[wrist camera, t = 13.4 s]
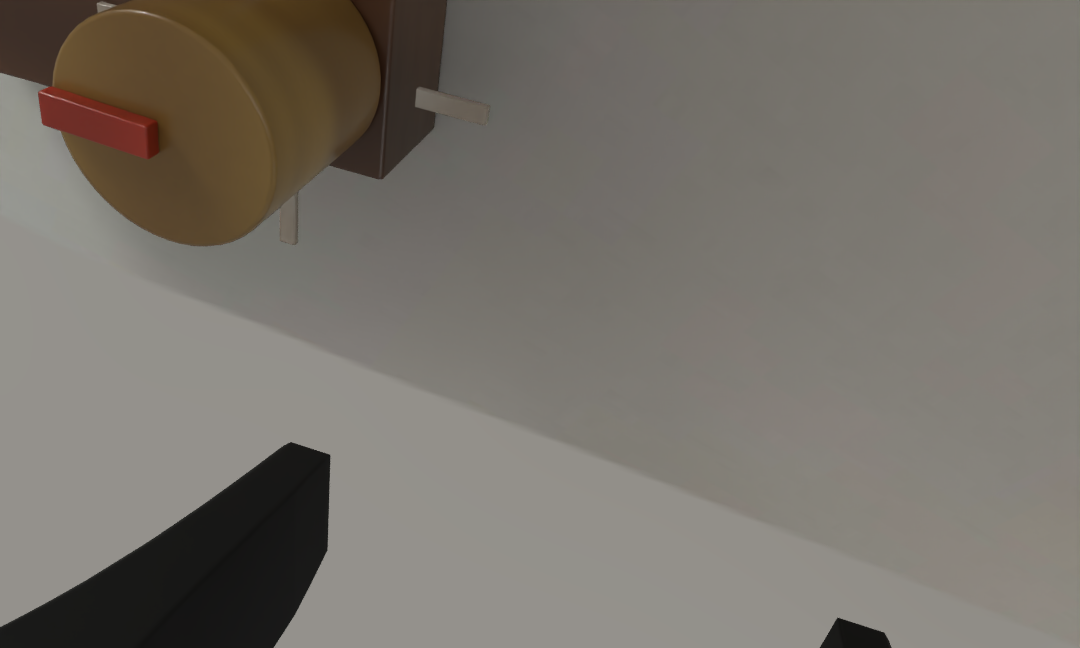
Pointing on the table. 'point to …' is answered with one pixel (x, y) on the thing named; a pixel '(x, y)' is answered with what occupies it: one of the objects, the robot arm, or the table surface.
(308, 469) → the robot arm
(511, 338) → the table surface
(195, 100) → the dimmer knob
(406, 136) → the dimmer panel
